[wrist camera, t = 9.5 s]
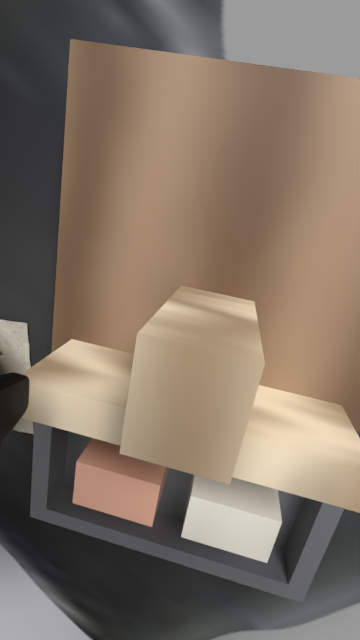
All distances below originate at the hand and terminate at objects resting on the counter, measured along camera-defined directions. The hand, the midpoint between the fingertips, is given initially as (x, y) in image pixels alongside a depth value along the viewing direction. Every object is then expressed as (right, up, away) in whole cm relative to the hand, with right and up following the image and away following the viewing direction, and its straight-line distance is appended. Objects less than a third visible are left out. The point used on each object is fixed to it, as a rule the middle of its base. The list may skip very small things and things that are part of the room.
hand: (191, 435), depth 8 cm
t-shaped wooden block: (+1, +2, +6) cm, 6 cm away
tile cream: (+2, -5, +8) cm, 10 cm away
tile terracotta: (-3, -3, +9) cm, 10 cm away
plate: (+2, +5, +8) cm, 9 cm away
